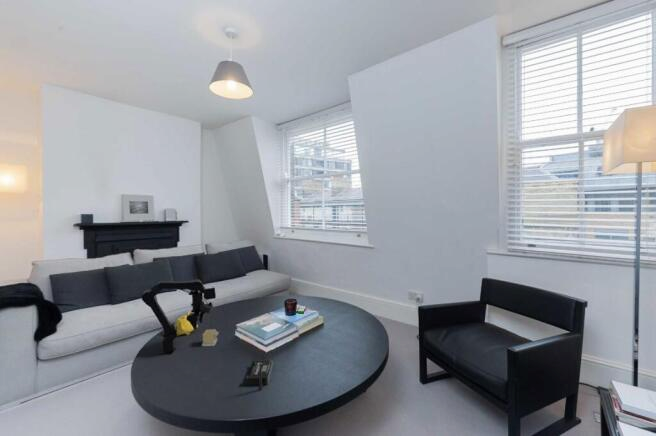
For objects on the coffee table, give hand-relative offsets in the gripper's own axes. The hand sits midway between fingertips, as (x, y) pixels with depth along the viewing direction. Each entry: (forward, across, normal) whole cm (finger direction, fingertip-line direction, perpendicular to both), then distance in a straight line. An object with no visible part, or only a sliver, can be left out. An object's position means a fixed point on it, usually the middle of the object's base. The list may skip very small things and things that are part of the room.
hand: (198, 326), depth 173 cm
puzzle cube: (+12, +29, -60) cm, 68 cm away
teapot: (+12, +19, +15) cm, 27 cm away
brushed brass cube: (+11, +2, -6) cm, 12 cm away
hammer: (+12, +7, -6) cm, 15 cm away
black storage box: (+13, -36, -42) cm, 57 cm away
